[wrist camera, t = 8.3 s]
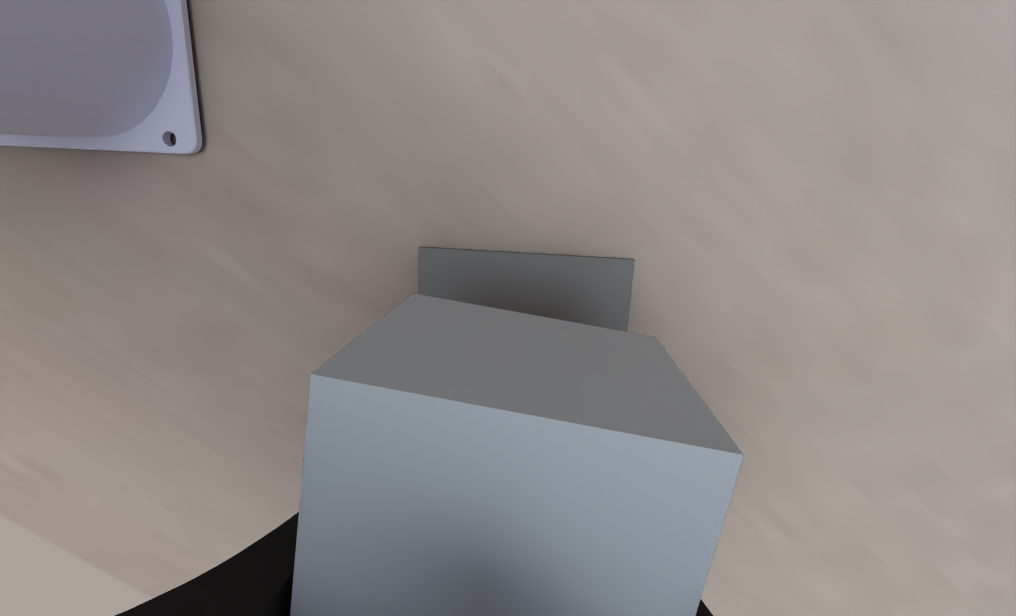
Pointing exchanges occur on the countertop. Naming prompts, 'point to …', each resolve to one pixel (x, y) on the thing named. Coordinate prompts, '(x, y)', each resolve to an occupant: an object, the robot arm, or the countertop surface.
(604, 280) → the thin grey panel
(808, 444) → the countertop surface
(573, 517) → the pale grey rectangular box
